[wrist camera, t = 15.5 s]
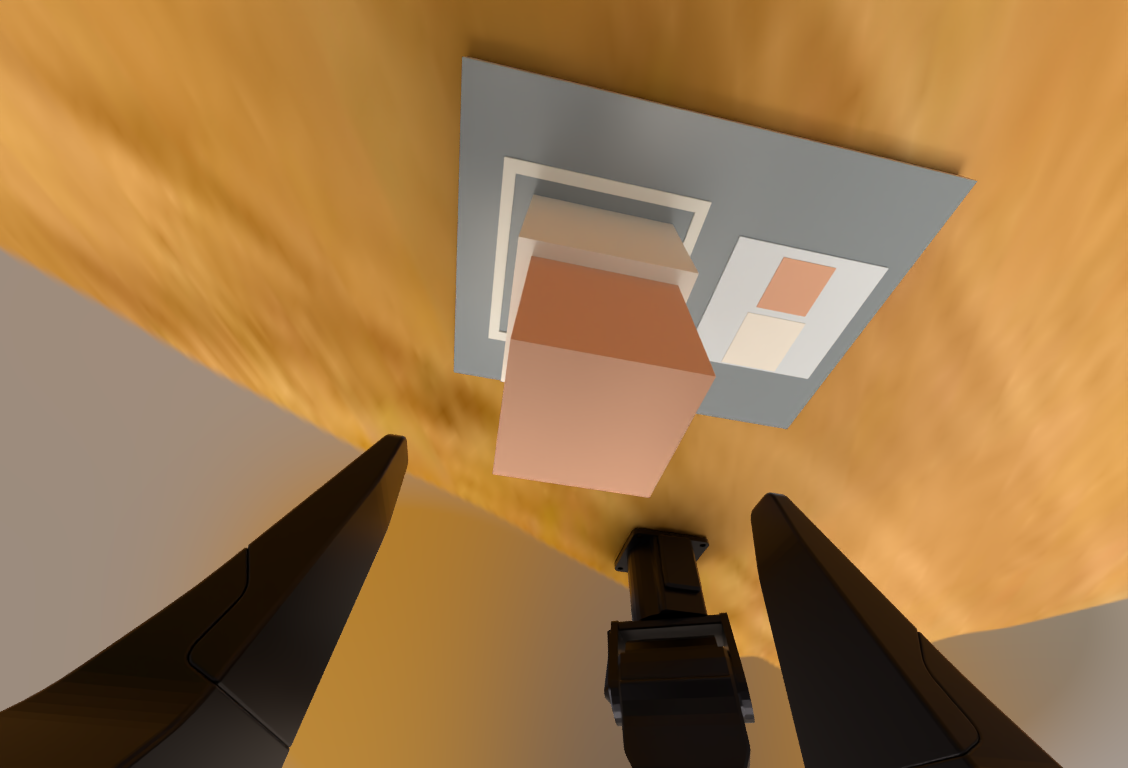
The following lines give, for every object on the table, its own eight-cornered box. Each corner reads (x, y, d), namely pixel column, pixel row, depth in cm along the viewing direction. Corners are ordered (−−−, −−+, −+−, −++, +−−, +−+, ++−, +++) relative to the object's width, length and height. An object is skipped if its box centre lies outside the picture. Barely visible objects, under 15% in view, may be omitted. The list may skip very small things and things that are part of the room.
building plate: (780, 417, 25) (787, 430, 24) (458, 361, 24) (453, 373, 23) (958, 175, 17) (980, 181, 16) (468, 56, 15) (461, 56, 14)
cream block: (631, 340, 21) (642, 405, 17) (516, 319, 20) (500, 381, 17) (672, 224, 17) (698, 273, 13) (533, 194, 17) (518, 236, 13)
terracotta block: (633, 395, 17) (649, 497, 13) (513, 374, 16) (492, 474, 12) (678, 285, 14) (715, 376, 10) (531, 255, 13) (510, 339, 9)
